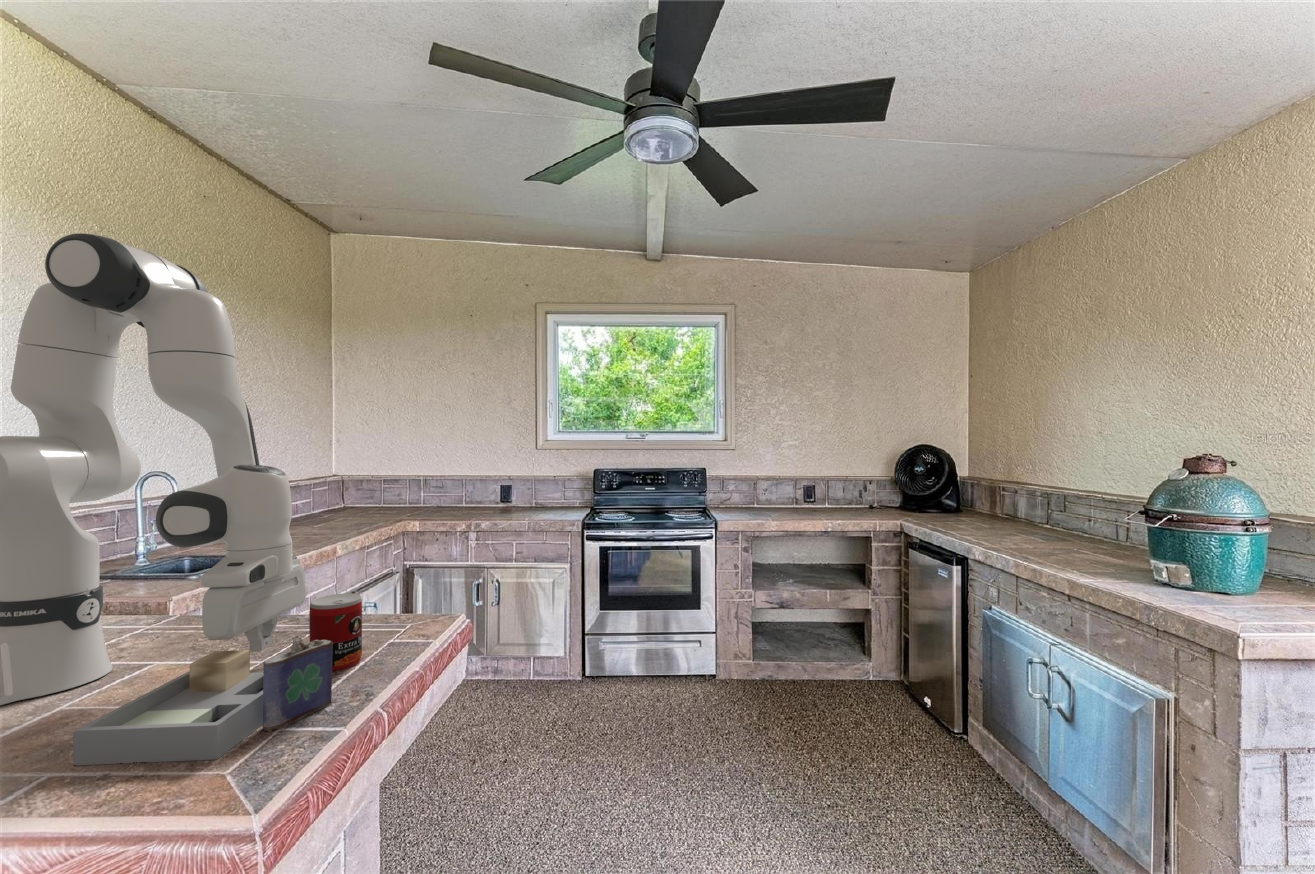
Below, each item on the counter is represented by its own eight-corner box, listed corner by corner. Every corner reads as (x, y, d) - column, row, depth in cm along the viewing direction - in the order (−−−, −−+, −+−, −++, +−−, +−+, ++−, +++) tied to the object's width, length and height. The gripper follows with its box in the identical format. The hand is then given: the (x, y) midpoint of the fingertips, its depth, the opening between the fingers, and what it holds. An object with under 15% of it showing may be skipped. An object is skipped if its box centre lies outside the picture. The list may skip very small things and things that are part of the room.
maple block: (189, 692, 78) (189, 664, 79) (215, 677, 83) (215, 651, 84) (225, 691, 79) (226, 662, 79) (249, 676, 84) (249, 650, 84)
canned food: (339, 674, 89) (339, 606, 89) (297, 671, 91) (297, 604, 91) (372, 656, 97) (372, 594, 97) (333, 653, 98) (333, 592, 98)
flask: (270, 733, 71) (270, 649, 71) (255, 729, 72) (256, 646, 72) (336, 703, 79) (337, 628, 79) (322, 699, 80) (323, 625, 81)
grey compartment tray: (73, 765, 64) (73, 731, 64) (208, 687, 85) (208, 661, 85) (217, 759, 65) (217, 725, 65) (316, 683, 86) (316, 657, 86)
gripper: (279, 552, 100) (280, 628, 100) (192, 579, 80) (192, 675, 79) (315, 551, 100) (316, 627, 100) (237, 577, 80) (238, 673, 80)
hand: (261, 648), depth 90 cm, fingers closed
